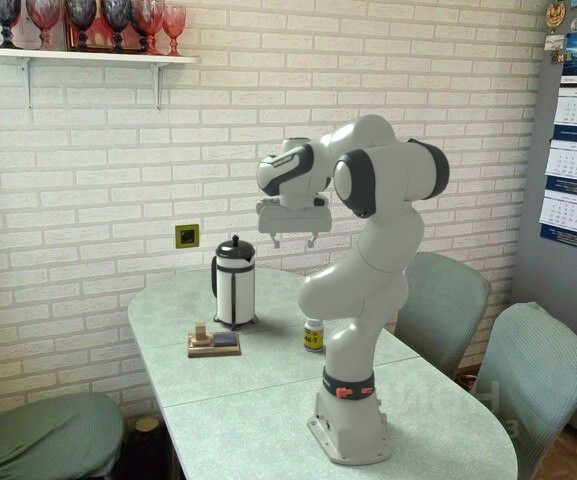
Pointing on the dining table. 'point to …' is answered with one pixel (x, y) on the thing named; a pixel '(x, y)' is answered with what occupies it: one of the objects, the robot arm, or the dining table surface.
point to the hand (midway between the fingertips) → (293, 247)
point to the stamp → (200, 335)
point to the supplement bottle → (313, 335)
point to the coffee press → (234, 281)
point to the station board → (215, 345)
